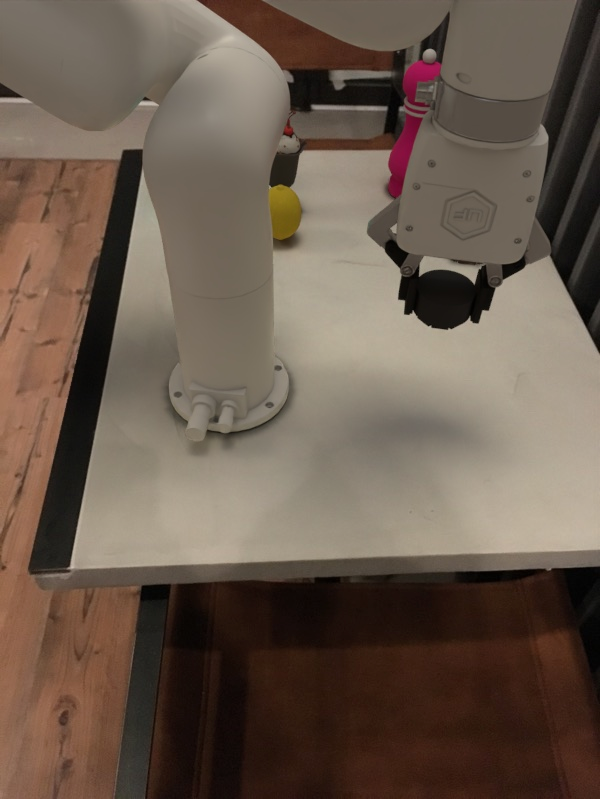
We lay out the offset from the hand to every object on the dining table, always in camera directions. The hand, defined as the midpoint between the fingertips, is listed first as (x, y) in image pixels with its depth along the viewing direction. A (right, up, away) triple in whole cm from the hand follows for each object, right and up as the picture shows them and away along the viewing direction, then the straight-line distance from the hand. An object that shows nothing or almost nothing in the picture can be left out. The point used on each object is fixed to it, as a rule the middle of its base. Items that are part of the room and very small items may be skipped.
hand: (441, 307), depth 61 cm
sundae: (-15, +18, +37) cm, 44 cm away
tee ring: (+10, +12, +31) cm, 35 cm away
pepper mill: (+4, +23, +42) cm, 48 cm away
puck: (0, -1, 0) cm, 1 cm away
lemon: (-15, +13, +32) cm, 38 cm away
